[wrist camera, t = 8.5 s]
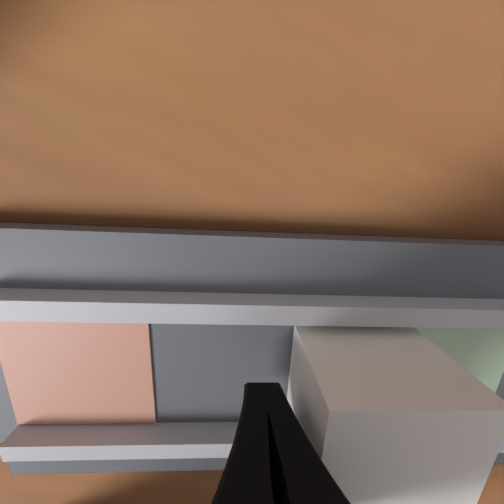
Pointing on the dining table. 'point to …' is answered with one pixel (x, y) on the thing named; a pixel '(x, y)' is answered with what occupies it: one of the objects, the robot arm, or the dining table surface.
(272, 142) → the dining table surface
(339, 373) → the white block
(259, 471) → the robot arm
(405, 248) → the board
